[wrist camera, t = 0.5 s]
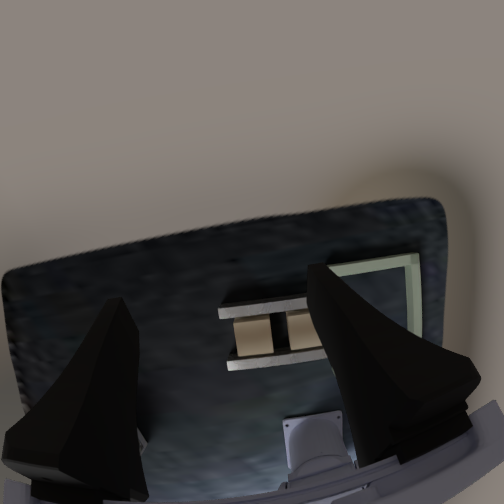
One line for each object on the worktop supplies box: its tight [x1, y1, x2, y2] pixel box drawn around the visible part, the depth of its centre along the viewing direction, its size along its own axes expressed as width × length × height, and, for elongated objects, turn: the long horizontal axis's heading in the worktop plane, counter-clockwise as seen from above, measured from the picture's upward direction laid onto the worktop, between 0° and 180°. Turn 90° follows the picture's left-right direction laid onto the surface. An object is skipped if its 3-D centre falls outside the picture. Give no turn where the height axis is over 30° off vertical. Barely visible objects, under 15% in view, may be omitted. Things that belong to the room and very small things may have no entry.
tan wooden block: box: [286, 308, 322, 350], centre depth 36 cm, size 4×4×3 cm
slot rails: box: [218, 293, 328, 371], centre depth 36 cm, size 8×12×2 cm, turn 98°
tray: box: [327, 252, 422, 375], centre depth 36 cm, size 13×12×2 cm
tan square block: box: [233, 313, 274, 356], centre depth 36 cm, size 4×4×3 cm
